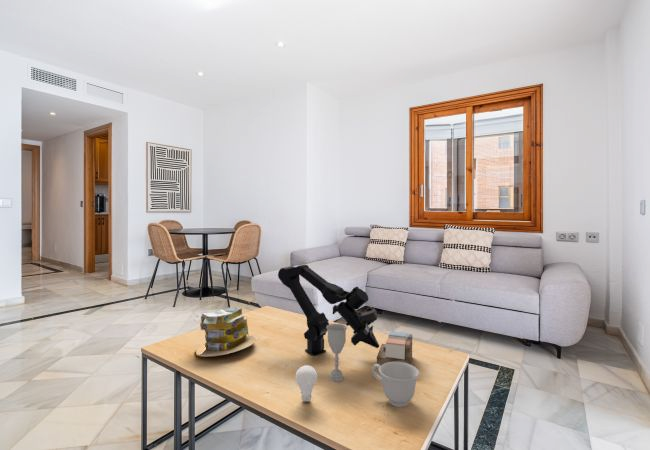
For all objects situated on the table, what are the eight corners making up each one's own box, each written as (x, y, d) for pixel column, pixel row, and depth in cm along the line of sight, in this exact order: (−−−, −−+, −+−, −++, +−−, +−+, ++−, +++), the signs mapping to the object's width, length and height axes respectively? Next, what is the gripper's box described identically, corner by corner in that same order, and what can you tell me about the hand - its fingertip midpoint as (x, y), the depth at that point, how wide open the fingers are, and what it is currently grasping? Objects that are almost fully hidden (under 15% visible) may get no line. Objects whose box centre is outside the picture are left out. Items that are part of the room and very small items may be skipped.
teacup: (380, 385, 114) (380, 355, 114) (424, 399, 106) (424, 367, 105) (363, 401, 104) (363, 369, 104) (410, 418, 96) (410, 384, 95)
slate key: (388, 348, 134) (388, 334, 133) (389, 344, 138) (389, 330, 138) (406, 350, 132) (406, 336, 131) (407, 346, 136) (407, 332, 136)
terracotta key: (385, 356, 126) (385, 342, 126) (387, 352, 130) (387, 337, 130) (404, 359, 124) (404, 344, 124) (405, 354, 128) (405, 340, 128)
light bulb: (295, 396, 108) (295, 362, 107) (316, 395, 108) (316, 361, 108) (295, 408, 101) (295, 372, 101) (317, 407, 102) (317, 371, 101)
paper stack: (182, 353, 140) (181, 313, 140) (229, 334, 161) (228, 299, 160) (222, 368, 127) (221, 324, 126) (268, 345, 148) (267, 307, 147)
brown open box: (376, 367, 127) (376, 342, 127) (381, 353, 139) (382, 330, 139) (409, 372, 123) (410, 346, 123) (412, 357, 136) (412, 333, 135)
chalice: (349, 374, 121) (349, 325, 121) (344, 384, 115) (344, 331, 114) (329, 371, 124) (329, 322, 123) (323, 380, 117) (323, 329, 117)
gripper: (360, 309, 121) (391, 343, 118) (369, 296, 139) (396, 326, 136) (338, 328, 124) (368, 362, 121) (350, 313, 142) (376, 342, 139)
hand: (378, 347), depth 129 cm, fingers closed
